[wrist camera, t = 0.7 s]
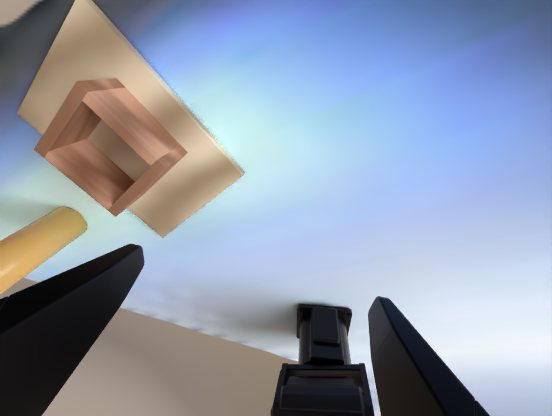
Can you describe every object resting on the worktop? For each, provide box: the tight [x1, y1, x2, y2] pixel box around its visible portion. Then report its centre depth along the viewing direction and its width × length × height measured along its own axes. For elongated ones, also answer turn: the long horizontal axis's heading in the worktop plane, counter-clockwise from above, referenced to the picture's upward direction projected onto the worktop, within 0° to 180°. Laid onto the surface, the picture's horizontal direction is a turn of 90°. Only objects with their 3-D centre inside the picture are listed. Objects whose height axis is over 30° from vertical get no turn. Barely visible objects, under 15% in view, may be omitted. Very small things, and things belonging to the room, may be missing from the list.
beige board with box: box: [17, 0, 245, 238], centre depth 20 cm, size 16×12×4 cm
